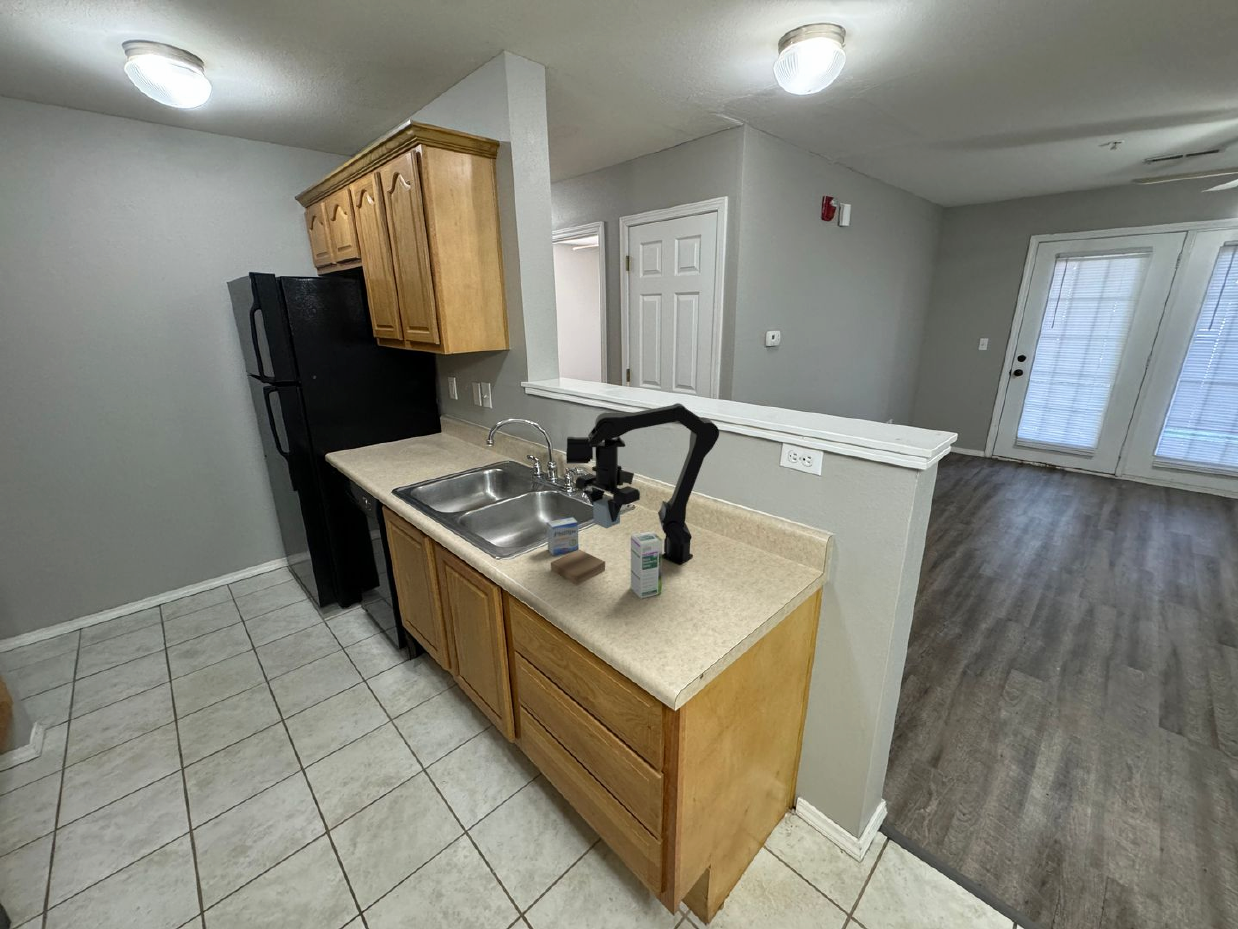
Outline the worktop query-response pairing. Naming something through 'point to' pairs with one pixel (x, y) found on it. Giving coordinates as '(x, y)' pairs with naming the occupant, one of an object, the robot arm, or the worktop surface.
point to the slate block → (603, 514)
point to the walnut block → (577, 566)
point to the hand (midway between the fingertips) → (606, 518)
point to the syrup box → (646, 564)
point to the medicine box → (562, 535)
